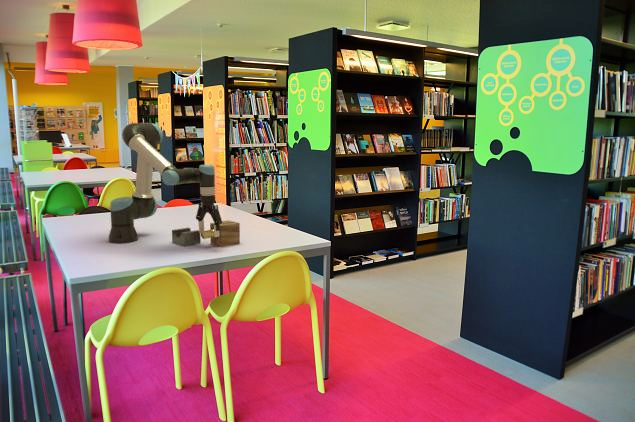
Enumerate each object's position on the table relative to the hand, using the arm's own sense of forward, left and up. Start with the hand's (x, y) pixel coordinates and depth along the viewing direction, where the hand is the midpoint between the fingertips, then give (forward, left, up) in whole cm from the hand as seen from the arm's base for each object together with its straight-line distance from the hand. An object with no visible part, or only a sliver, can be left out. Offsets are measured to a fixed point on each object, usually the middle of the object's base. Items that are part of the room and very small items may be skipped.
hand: (209, 234), depth 261 cm
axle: (0, +5, -2) cm, 6 cm away
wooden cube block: (0, +10, -7) cm, 12 cm away
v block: (-16, -4, -7) cm, 18 cm away
